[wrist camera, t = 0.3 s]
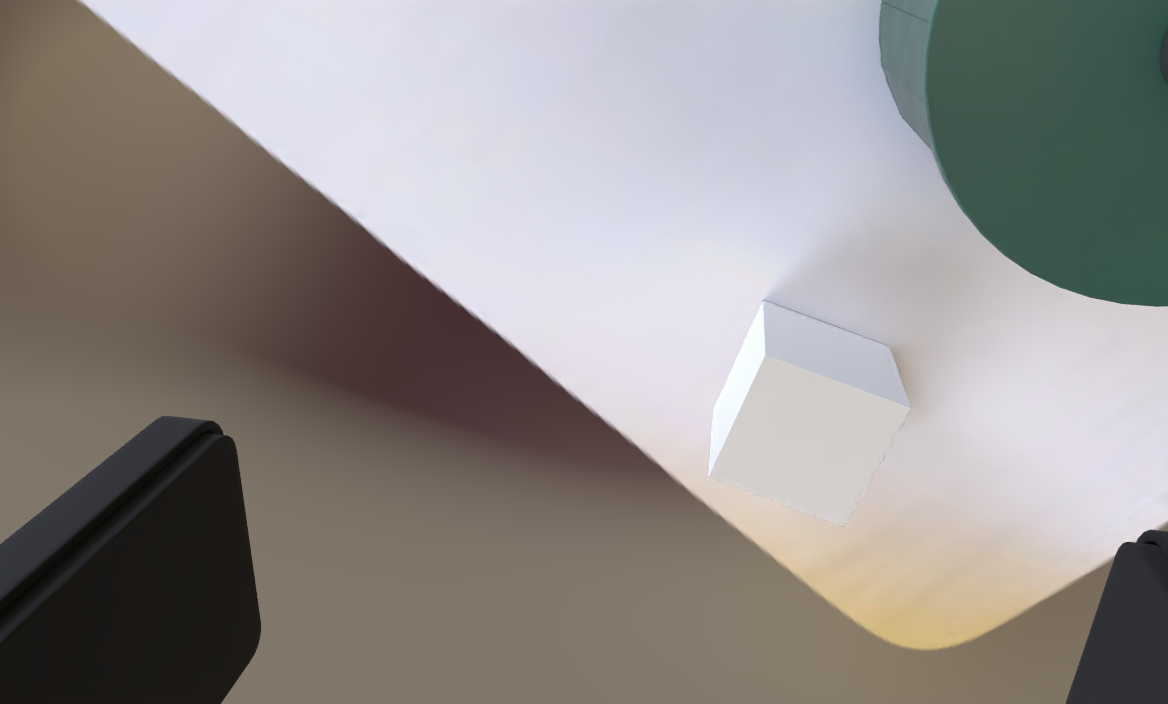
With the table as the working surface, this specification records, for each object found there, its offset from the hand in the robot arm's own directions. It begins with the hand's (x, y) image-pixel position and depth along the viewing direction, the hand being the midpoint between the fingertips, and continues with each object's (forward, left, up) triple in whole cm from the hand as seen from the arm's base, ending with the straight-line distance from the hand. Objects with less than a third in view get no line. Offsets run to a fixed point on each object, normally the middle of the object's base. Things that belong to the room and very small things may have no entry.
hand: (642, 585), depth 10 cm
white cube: (+6, +11, -31) cm, 33 cm away
